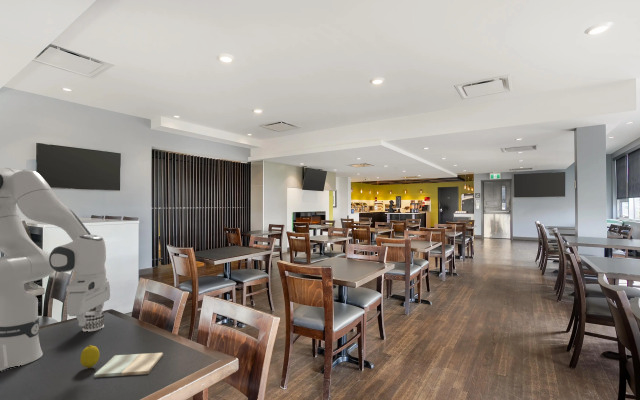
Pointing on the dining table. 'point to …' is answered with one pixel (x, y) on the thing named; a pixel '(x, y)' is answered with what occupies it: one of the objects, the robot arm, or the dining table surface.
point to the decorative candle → (93, 321)
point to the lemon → (89, 356)
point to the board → (129, 365)
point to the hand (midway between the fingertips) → (90, 320)
